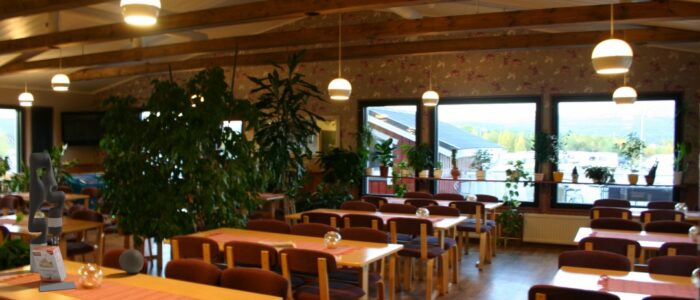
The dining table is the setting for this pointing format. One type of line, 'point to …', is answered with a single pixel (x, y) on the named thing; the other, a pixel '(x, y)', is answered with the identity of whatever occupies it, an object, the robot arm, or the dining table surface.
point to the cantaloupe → (131, 261)
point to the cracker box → (49, 263)
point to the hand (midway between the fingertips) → (54, 254)
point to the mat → (57, 286)
